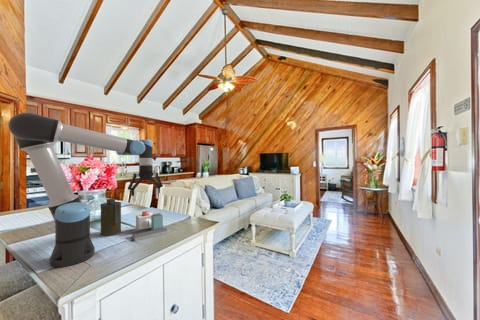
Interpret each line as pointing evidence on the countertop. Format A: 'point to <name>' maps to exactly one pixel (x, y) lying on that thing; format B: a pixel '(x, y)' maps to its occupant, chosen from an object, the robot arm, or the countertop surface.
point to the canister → (110, 218)
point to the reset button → (145, 213)
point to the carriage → (156, 221)
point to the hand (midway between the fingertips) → (146, 199)
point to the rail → (147, 233)
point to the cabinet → (143, 221)
